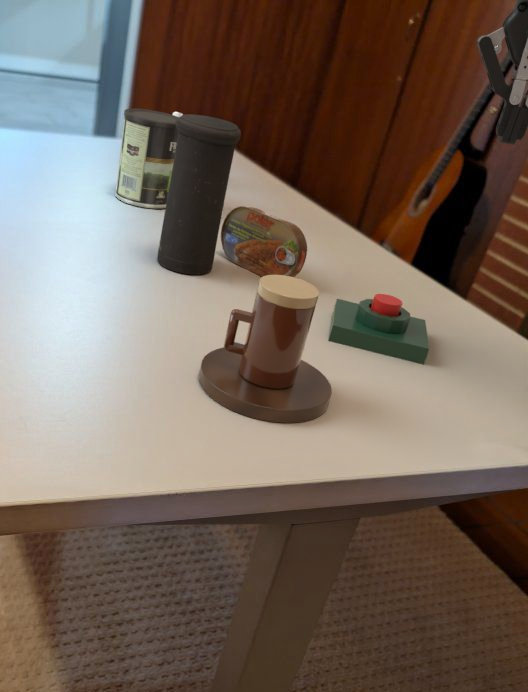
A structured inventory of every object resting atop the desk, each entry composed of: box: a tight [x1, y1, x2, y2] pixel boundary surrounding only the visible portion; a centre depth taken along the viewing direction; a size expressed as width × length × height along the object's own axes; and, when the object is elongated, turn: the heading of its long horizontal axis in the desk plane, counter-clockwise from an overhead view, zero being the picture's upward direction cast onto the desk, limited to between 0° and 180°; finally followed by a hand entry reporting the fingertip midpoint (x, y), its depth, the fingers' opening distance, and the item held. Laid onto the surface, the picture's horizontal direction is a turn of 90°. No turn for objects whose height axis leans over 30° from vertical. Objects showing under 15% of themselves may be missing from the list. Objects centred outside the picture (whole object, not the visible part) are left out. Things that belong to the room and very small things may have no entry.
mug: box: [223, 275, 320, 389], centre depth 77 cm, size 8×6×10 cm
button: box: [370, 293, 403, 317], centre depth 95 cm, size 4×4×2 cm
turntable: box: [198, 346, 333, 424], centre depth 80 cm, size 14×14×2 cm
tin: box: [220, 205, 308, 278], centre depth 110 cm, size 15×3×8 cm, turn 42°
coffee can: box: [114, 108, 179, 210], centre depth 130 cm, size 10×10×14 cm
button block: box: [327, 298, 430, 365], centre depth 97 cm, size 12×10×4 cm
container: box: [156, 113, 242, 275], centre depth 103 cm, size 9×9×20 cm
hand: (506, 142), depth 82 cm, fingers closed
